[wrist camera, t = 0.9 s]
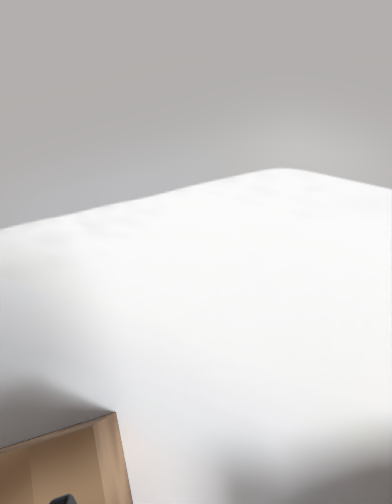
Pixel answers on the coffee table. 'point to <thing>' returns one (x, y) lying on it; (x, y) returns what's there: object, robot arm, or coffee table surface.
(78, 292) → the coffee table surface
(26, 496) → the socket
